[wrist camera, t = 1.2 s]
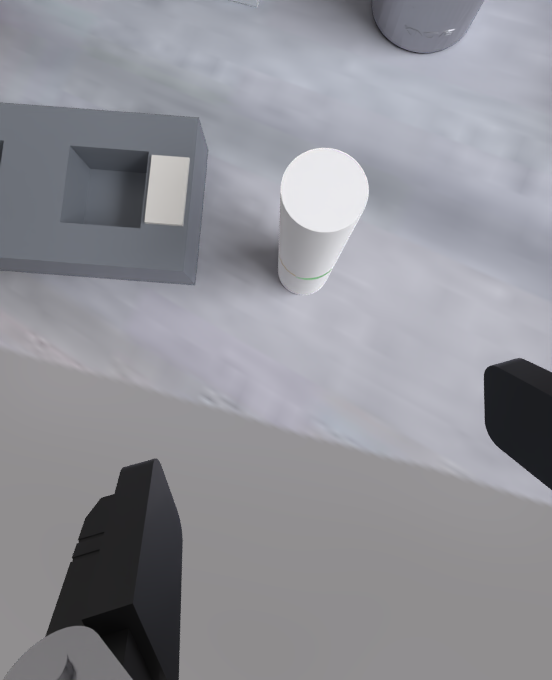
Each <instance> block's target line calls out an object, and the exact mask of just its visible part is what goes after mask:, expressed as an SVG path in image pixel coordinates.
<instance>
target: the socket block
mask: <svg viewBox="0 0 552 680" xmlns="http://www.w3.org/2000/svg"><path fill="white" fill-rule="evenodd" d="M207 157H208V148H207V144H206V141H205V137H204V134H203V130H202V127H201V123H200V120H199V118H198V117H185V116H171V115H158V114H145V113H132V112H119V111H105V110H92V109H79V108H66V107H52V106H39V105H26V104H13V103H0V270H3V271H16V272H30V273H43V274H56V275H69V276H82V277H95V278H108V279H121V280H134V281H147V282H160V283H173V284H186V285H195V281H196V271H197V261H198V250H199V240H200V230H201V219H202V209H203V199H204V188H205V178H206V168H207Z"/></svg>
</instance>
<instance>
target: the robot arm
mask: <svg viewBox="0 0 552 680" xmlns="http://www.w3.org/2000/svg"><path fill="white" fill-rule="evenodd" d="M483 2H484V0H372V10H373V16H374V19H375V21H376V24H377V26H378V27H379V29H380V30H381V32H382V33H383V34H384V35H385V36H386V37H387V38H388V39H389V40H390V41H391V42H393V43H394V44H396V45H397V46H399V47H401V48H403V49H406V50H409V51H413V52H419V53H432V52H436V51H441V50H444V49H446V48H448V47H450V46H452V45H453V44H455V43H456V42H457V41H459V40H460V39H461V38H462V37H463V36H464V34H465V33H466V32H467V30H468V29H469V27H470V25H471V23H472V21H473V20H474V18H475V16H476V14H477V12H478V11H479V9H480V7H481V5H482V4H483ZM484 404H485V425H486V429H487V432H488V434H489V436H490V438H491V439H492V441H493V442H494V443H495V445H496V446H498V447H499V448H500V449H501V450H502V451H504V452H505V453H506V454H507V455H509V456H510V457H511V458H512V459H514V460H515V461H516V462H517V463H519V464H520V465H521V466H522V467H524V468H525V469H526V470H527V471H529V472H530V473H531V474H532V475H534V476H535V477H536V478H537V479H539V480H540V481H541V482H542V483H544V484H545V485H546V486H547V487H549V488H550V489H551V490H552V372H550V371H548V370H545V369H543V368H541V367H539V366H537V365H535V364H533V363H531V362H529V361H526V360H524V359H521V358H517V359H513V360H510V361H506V362H503V363H499V364H495V365H492V366H489V367H488V368H487V369H486V370H485V373H484ZM78 540H79V543H78V544H77V545H76V548H75V551H74V553H73V556H72V558H73V562H71V563H70V566H69V568H68V572H67V574H66V578H65V580H64V583H63V586H62V589H61V592H60V595H59V599H58V601H57V604H56V607H55V610H54V613H53V616H52V619H51V622H50V625H49V628H48V631H47V634H46V636H45V638H43V639H42V640H40V641H39V642H37V643H36V644H35V645H33V646H32V647H31V648H30V649H29V650H28V651H27V652H25V653H24V654H23V655H22V656H21V657H20V658H19V659H18V661H17V662H16V663H15V664H14V665H13V666H12V668H11V669H10V670H9V672H8V673H7V674H6V676H5V677H4V679H3V680H179V650H180V613H181V575H182V529H181V523H180V518H179V515H178V511H177V508H176V506H175V503H174V500H173V497H172V494H171V492H170V489H169V486H168V483H167V480H166V478H165V475H164V472H163V469H162V466H161V464H160V462H159V460H158V459H152V460H148V461H145V462H141V463H138V464H134V465H130V466H127V467H123V468H122V470H121V472H120V476H119V479H118V483H117V487H116V490H115V494H113V495H110V496H106V497H103V498H101V499H100V500H99V501H98V503H97V504H96V505H95V507H94V508H93V509H92V511H91V512H90V513H89V514H88V516H87V517H86V518H85V521H84V524H83V527H82V530H81V533H80V536H79V539H78Z"/></svg>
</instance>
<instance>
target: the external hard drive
mask: <svg viewBox="0 0 552 680" xmlns="http://www.w3.org/2000/svg"><path fill="white" fill-rule="evenodd" d="M230 1H234V2H238V3H241V4H245V5H248V6H252V7H256V8H257V7H258V4H259V1H260V0H230Z"/></svg>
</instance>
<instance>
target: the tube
mask: <svg viewBox="0 0 552 680" xmlns="http://www.w3.org/2000/svg"><path fill="white" fill-rule="evenodd" d="M368 195H369V186H368V181H367V177H366V175H365V173H364V171H363V169H362V168H361V166H360V165H359V163H358V162H357V161H356V160H354V159H353V158H352V157H351V156H349V155H348V154H346V153H344V152H342V151H339V150H336V149H332V148H317V149H312V150H309V151H307V152H304V153H302V154H301V155H299V156H298V157H296V158H295V159H294V160H293V161H292V162H291V163H290V164H289V166H288V167H287V169H286V171H285V173H284V175H283V178H282V182H281V198H280V224H279V254H278V275H279V279H280V281H281V283H282V284H283V286H284V287H285V288H286V289H287V290H289V291H290V292H292V293H294V294H298V295H309V294H312V293H315V292H316V291H318V290H319V289H320V288H321V287H322V286H323V285H324V284H325V282H326V280H327V278H328V276H329V275H330V273H331V271H332V269H333V267H334V265H335V263H336V261H337V260H338V258H339V256H340V254H341V252H342V250H343V248H344V246H345V245H346V243H347V241H348V239H349V237H350V235H351V233H352V231H353V230H354V228H355V226H356V224H357V222H358V220H359V218H360V216H361V215H362V213H363V211H364V209H365V206H366V204H367V200H368Z"/></svg>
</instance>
